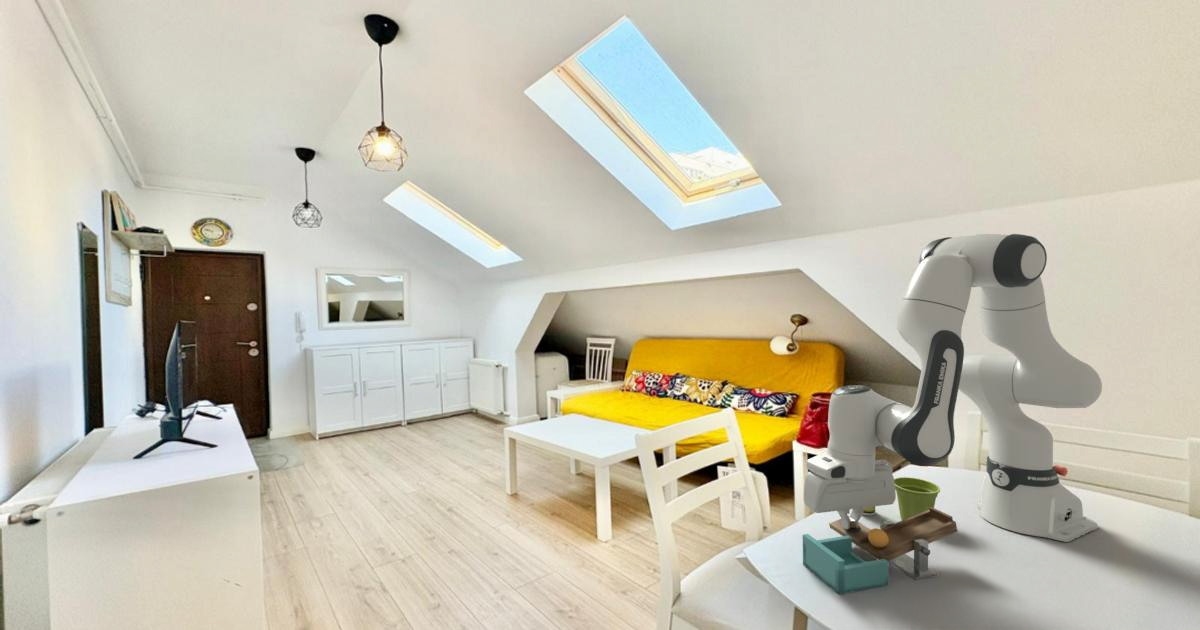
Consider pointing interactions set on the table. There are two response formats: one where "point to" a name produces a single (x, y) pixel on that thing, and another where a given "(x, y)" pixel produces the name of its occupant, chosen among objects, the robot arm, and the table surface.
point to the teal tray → (843, 565)
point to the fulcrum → (911, 566)
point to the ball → (878, 538)
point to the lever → (901, 533)
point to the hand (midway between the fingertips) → (849, 527)
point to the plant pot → (915, 495)
